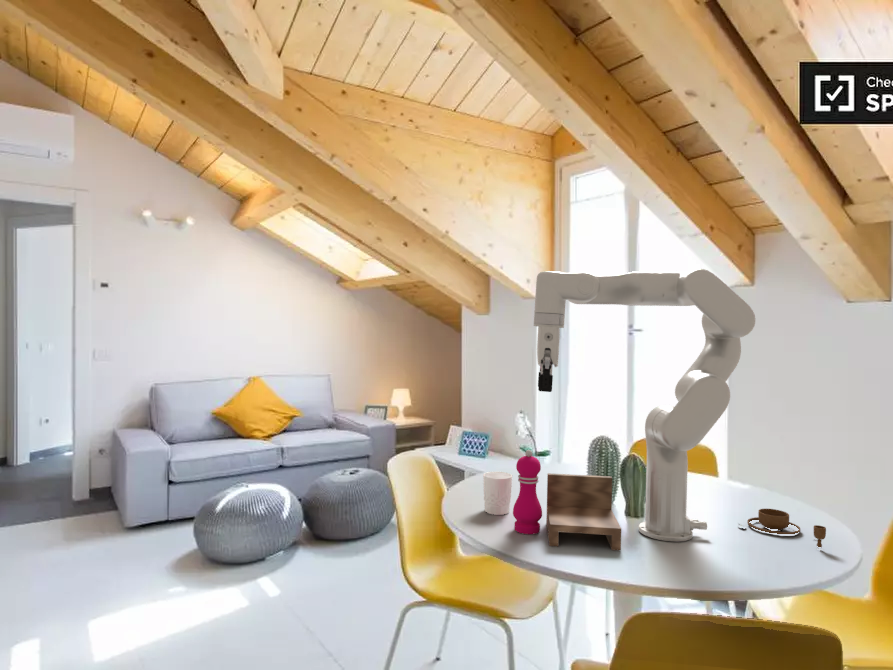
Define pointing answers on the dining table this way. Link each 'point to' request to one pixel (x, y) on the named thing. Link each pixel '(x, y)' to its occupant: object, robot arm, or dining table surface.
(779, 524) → the place setting
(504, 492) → the white cup
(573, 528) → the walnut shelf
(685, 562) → the dining table surface
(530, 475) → the pepper mill
